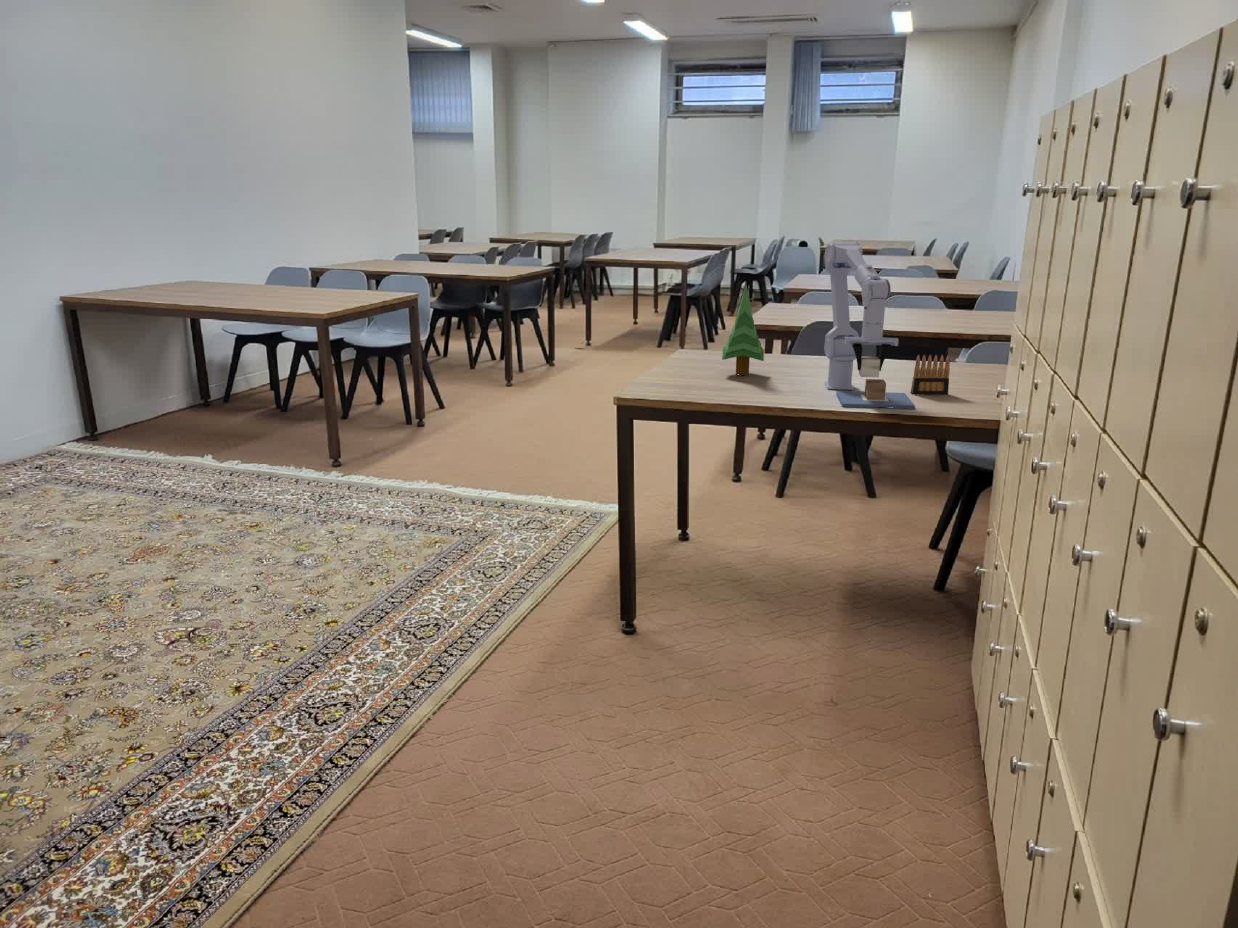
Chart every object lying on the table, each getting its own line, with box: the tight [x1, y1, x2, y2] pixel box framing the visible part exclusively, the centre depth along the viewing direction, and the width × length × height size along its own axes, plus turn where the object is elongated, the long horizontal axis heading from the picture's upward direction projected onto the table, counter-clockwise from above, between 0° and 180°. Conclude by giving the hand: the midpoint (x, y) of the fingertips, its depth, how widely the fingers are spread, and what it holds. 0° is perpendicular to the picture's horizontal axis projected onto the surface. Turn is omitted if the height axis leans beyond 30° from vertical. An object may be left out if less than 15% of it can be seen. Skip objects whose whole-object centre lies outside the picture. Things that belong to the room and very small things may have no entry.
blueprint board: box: [835, 390, 916, 410], centre depth 256 cm, size 16×20×1 cm
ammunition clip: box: [910, 354, 951, 396], centre depth 264 cm, size 11×2×12 cm, turn 88°
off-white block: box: [858, 355, 880, 378], centre depth 253 cm, size 5×5×5 cm
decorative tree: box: [721, 284, 765, 375], centre depth 289 cm, size 14×16×30 cm
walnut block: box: [864, 378, 887, 400], centre depth 255 cm, size 5×5×5 cm
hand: (869, 369), depth 253 cm, fingers closed on off-white block, 5 cm apart
